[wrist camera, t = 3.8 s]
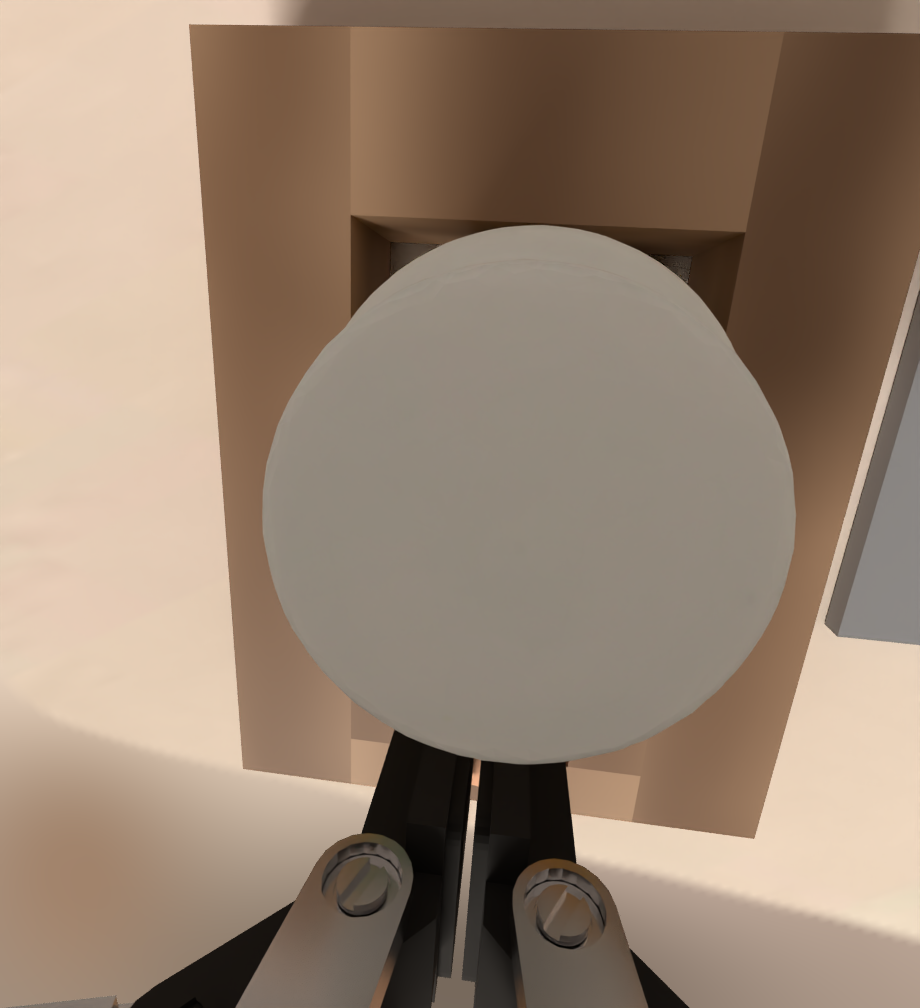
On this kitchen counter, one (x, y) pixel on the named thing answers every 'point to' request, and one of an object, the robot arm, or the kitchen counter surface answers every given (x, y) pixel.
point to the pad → (887, 523)
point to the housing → (573, 204)
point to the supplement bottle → (529, 500)
